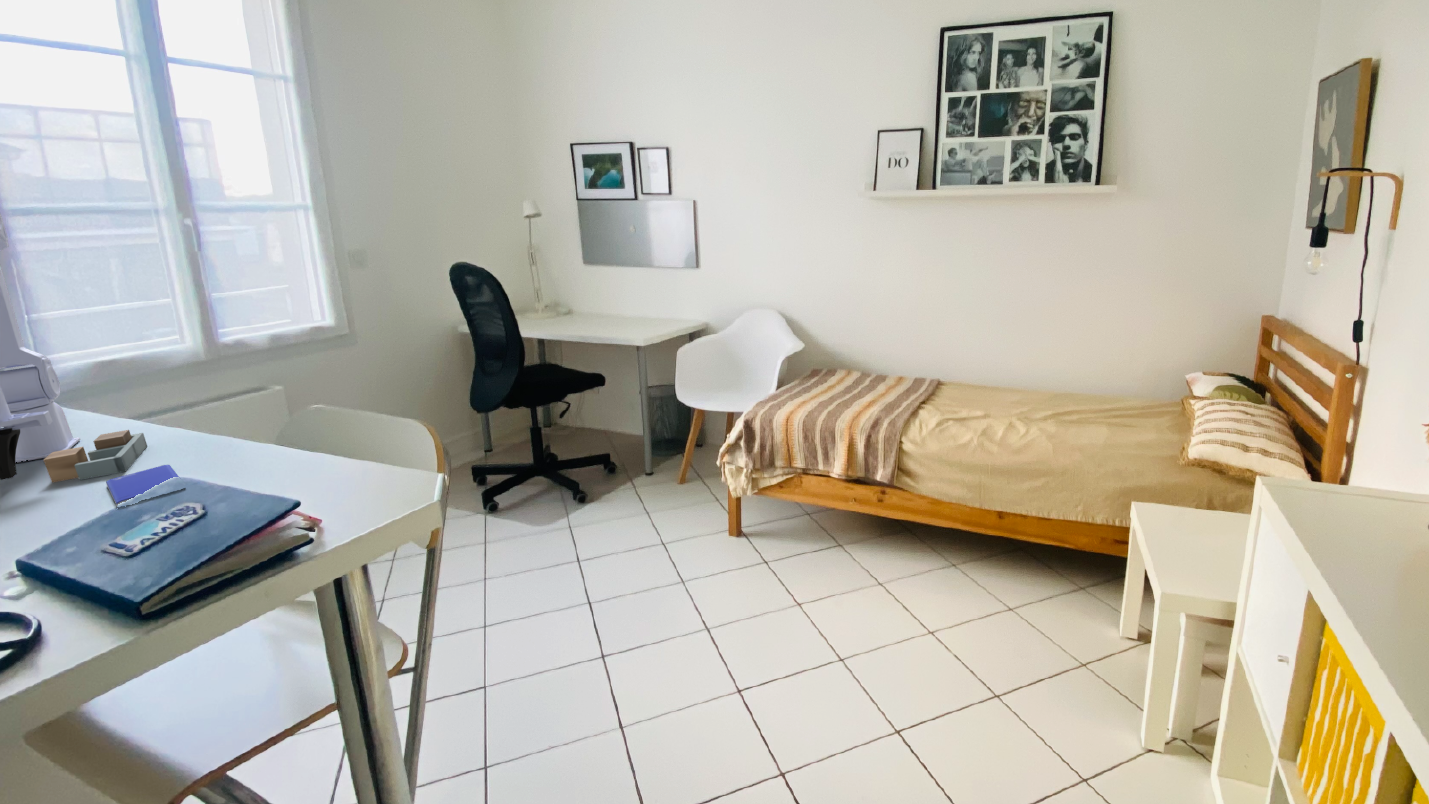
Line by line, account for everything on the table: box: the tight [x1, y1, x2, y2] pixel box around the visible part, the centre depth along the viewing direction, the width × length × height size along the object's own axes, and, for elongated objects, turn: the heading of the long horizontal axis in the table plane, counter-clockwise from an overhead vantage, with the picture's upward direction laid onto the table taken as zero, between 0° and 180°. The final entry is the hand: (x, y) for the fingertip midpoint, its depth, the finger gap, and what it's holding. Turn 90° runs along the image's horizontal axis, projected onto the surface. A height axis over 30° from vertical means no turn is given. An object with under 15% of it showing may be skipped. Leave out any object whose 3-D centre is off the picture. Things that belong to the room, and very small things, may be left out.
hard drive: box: [105, 464, 180, 506], centre depth 110 cm, size 2×8×12 cm
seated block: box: [93, 429, 132, 450], centre depth 125 cm, size 4×4×4 cm
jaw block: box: [43, 446, 89, 483], centre depth 117 cm, size 4×4×4 cm
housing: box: [74, 432, 148, 481], centre depth 122 cm, size 14×6×2 cm, turn 25°
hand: (8, 477), depth 114 cm, fingers closed
